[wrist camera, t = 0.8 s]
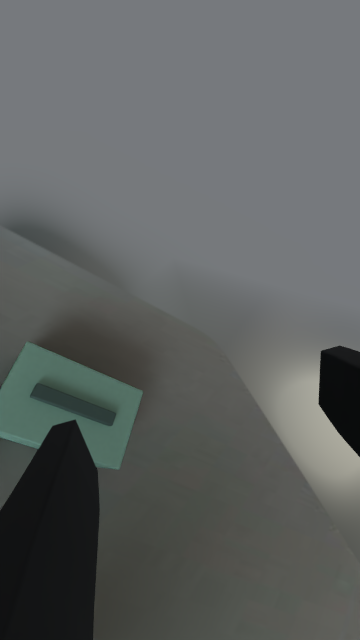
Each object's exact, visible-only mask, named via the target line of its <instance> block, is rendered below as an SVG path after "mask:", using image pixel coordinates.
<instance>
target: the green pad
mask: <svg viewBox="0 0 360 640" xmlns="http://www.w3.org/2000/svg"><path fill="white" fill-rule="evenodd" d="M142 395H143V391H142V390H139V389H137V388H135V387H133V386H130V385H128V384H126V383H123V382H121V381H119V380H116V379H114V378H112V377H109V376H107V375H105V374H102V373H100V372H98V371H96V370H93V369H91V368H89V367H86V366H84V365H82V364H79V363H77V362H75V361H72V360H70V359H68V358H65V357H63V356H61V355H59V354H56V353H54V352H52V351H49V350H47V349H45V348H42V347H40V346H38V345H35V344H33V343H31V342H26V344H25V346H24V347H23V349H22V351H21V352H20V354H19V356H18V358H17V359H16V361H15V363H14V365H13V367H12V368H11V370H10V372H9V374H8V376H7V377H6V379H5V381H4V383H3V385H2V386H1V388H0V438H4V439H7V440H10V441H13V442H17V443H20V444H23V445H26V446H30V447H33V448H36V449H39V447H40V445H41V444H42V442H43V440H44V439H45V437H46V435H47V434H48V432H49V431H50V429H51V427H52V426H53V425H57V424H60V423H64V422H68V421H71V420H75V419H76V421H77V424H78V426H79V428H80V431H81V433H82V435H83V438H84V440H85V442H86V445H87V447H88V449H89V452H90V454H91V456H92V459H93V461H94V463H95V466H96V467H100V468H109V469H120V466H121V463H122V460H123V456H124V453H125V450H126V447H127V443H128V440H129V437H130V434H131V430H132V427H133V424H134V421H135V417H136V414H137V411H138V408H139V404H140V401H141V398H142Z"/></svg>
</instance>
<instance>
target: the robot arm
mask: <svg viewBox="0 0 360 640" xmlns="http://www.w3.org/2000/svg"><path fill="white" fill-rule="evenodd" d="M319 405H320V407H321V408H322V410H323V411H324V412H325V414H326V416H327V417H328V419H329V420H330V422H331V423H332V424H333V426H334V427H335V428H336V430H337V431H338V433H339V434H340V435H341V436H342V437H343V439H344V440H345V441H346V442H347V443H348V444H349V445H350V446H351V448H352V449H353V450H354V451H355V452H356V453H357V454H358V456H359V457H360V352H358V351H355V350H352V349H349V348H346V347H342V346H337V347H333V348H330V349H326V350H323V351H321V361H320V383H319ZM99 510H100V508H99V487H98V471H97V468H96V466H95V463H94V461H93V459H92V456H91V454H90V452H89V449H88V447H87V445H86V442H85V440H84V438H83V435H82V433H81V431H80V428H79V426H78V424H77V421H76V419H75V420H71V421H68V422H64V423H60V424H57V425H53V426H52V427H51V429H50V431H49V432H48V434H47V435H46V437H45V439H44V440H43V442H42V444H41V445H40V447H39V449H38V450H37V452H36V454H35V455H34V457H33V459H32V461H31V462H30V464H29V466H28V467H27V469H26V471H25V472H24V474H23V475H22V477H21V479H20V480H19V482H18V483H17V485H16V487H15V488H14V490H13V491H12V493H11V495H10V496H9V498H8V499H7V501H6V503H5V504H4V506H3V507H2V509H1V510H0V640H93V620H94V599H95V582H96V565H97V548H98V530H99Z"/></svg>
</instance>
